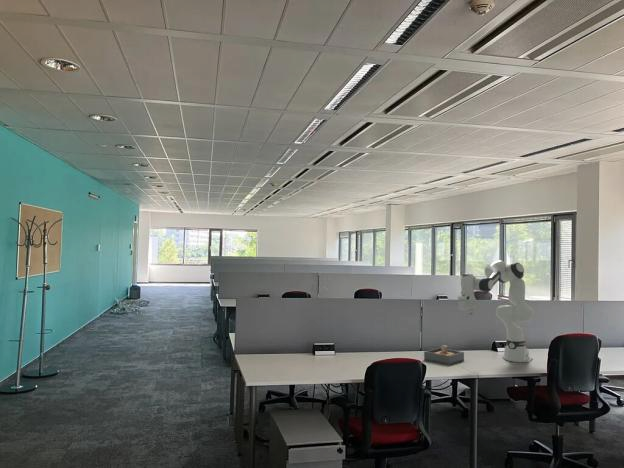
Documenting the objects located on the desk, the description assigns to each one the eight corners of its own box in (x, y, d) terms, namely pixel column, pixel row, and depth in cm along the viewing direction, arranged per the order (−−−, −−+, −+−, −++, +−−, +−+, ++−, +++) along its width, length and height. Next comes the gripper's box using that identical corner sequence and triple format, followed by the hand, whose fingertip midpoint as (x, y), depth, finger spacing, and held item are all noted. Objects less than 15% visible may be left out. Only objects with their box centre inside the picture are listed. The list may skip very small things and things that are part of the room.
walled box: (439, 355, 344) (439, 347, 344) (464, 360, 330) (463, 352, 330) (424, 360, 330) (424, 351, 330) (449, 365, 316) (449, 356, 316)
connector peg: (443, 357, 333) (443, 345, 333) (448, 358, 330) (448, 346, 330) (440, 358, 330) (440, 346, 330) (445, 359, 327) (445, 346, 327)
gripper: (470, 294, 336) (470, 313, 335) (456, 297, 321) (456, 317, 321) (478, 295, 331) (479, 314, 331) (464, 297, 317) (465, 318, 317)
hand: (468, 315), depth 326 cm, fingers open, 8 cm apart
